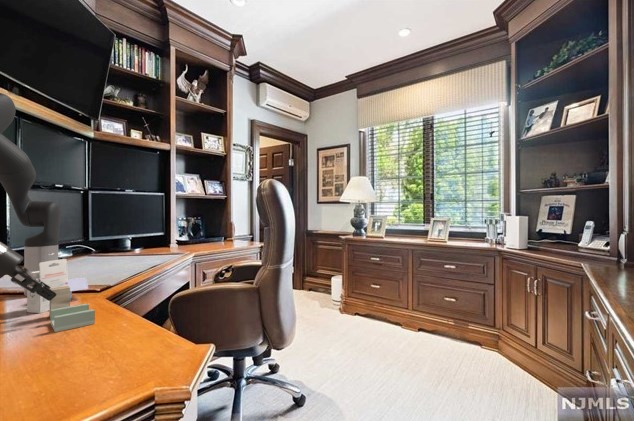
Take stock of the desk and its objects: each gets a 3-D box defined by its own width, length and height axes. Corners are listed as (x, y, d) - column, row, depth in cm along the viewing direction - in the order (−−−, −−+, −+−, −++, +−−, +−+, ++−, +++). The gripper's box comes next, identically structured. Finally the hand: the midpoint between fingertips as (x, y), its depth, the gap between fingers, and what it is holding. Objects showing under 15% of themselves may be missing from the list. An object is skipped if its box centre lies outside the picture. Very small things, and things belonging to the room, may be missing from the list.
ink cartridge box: (55, 304, 99) (56, 257, 99) (68, 305, 98) (68, 258, 98) (25, 312, 90) (26, 262, 90) (39, 313, 89) (39, 262, 89)
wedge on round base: (84, 293, 111) (35, 301, 102) (84, 275, 112) (35, 280, 102) (88, 298, 105) (36, 306, 96) (88, 278, 105) (37, 285, 96)
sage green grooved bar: (50, 323, 81) (50, 309, 81) (87, 315, 87) (87, 303, 87) (54, 332, 75) (54, 317, 75) (94, 323, 81) (94, 310, 81)
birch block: (49, 316, 87) (49, 287, 87) (67, 313, 90) (67, 285, 90) (51, 319, 84) (51, 290, 84) (69, 316, 87) (70, 287, 87)
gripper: (7, 248, 75) (67, 287, 83) (6, 244, 85) (60, 280, 93) (-26, 273, 71) (41, 312, 79) (-23, 266, 81) (36, 301, 89)
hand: (51, 294), depth 86 cm, fingers open, 8 cm apart
